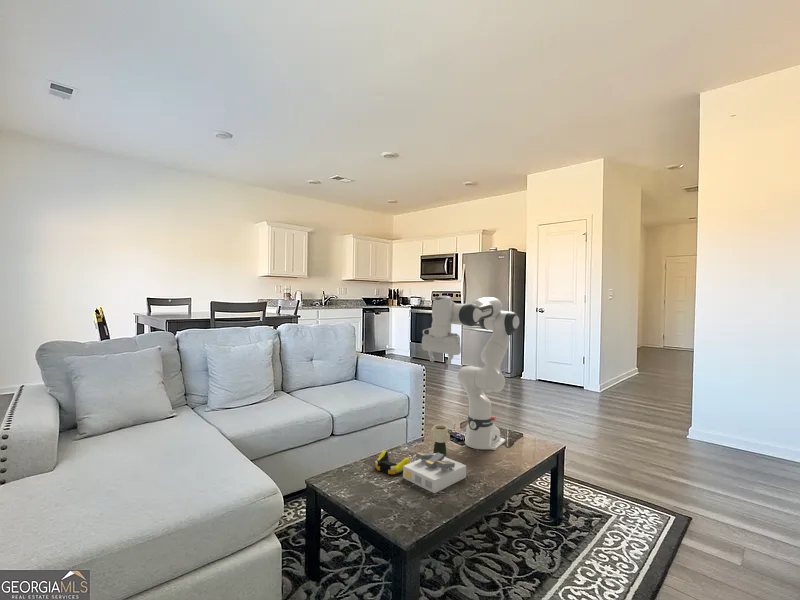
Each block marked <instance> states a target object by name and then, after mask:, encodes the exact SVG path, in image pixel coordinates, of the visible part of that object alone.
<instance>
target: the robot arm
mask: <svg viewBox="0 0 800 600" xmlns="http://www.w3.org/2000/svg"><path fill="white" fill-rule="evenodd" d="M431 307H432V309H431V317H432V322H431V327H429V328H426V329H423V330H422V338H421V349H422V350H423V351H425V352H426V351H427V355H428V356H429V361H430V362H435V361H436V358H435V357H434V353H438V354H440V353H441V354H446V355H447V356H448V358H447V359H446V360H445V365H452V360H453V358H454V356H459V355H460V354H461V353H462V352H461V350H462V349H461V347H462V346H461V337H460V335H459V334H458V333H454V332H452V325H458V326H459V325H460V326H468V327H474V326H476V325H477V324H478V325H479V326H480V328H481V329H483V330H486V331H492V333H491V335H490V337H489V338H488V340H487V342H486V344H485V345H484V347H483V349H482V351H481V353H480V360H481V362H482V363H483V364H484V366H483V367H478V366H473V365H467V366H462V367H461V368H459V370H458V373H457V379H458V382H459V384H460V385H461V386H462V387H463V388H464V390H465V393H466V395H467V400H468V414H467V424H466V427H465V436H464V437H465V441H464V444H465V445H466V446H467V447H469V448H472V449H474V450H475V449H476V450H493V451H495V450H497V449H498V448H499V447H501V445H503V444H504V443H505V442H506V439H505V438H504V437H501V430H500V429H499V428H498V427H497V426H496V425H495V424H494V422H495V421H496V416H493V415H492V402H491V399H489V397H487V396H486V394H485V392H488V393H500V392H501V391H502V390H503V389H504V387H505V385H506V378H505V376H504V374H503V372H502V370H501V365H502V362H503V361H504V357H505V355H506V353H507V350H508V348H509V344H510V341H511V337H510V336H512V335H513V334H515V332H516V331H517V330H518V329H519V327H520V322H521V321H520V316H519V315H518V313H516V312H514V311H506V310H503V305H502V302H501V300H500V299H499V298H496V297H491V296H486V297H479V298H477V299H475V300H473V302H472V303H456V302H454V301H453V300H452V297H451V296H449V295H439V296H438V295H437V296H436V297H435V298H433V302H432V305H431Z"/></svg>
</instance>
